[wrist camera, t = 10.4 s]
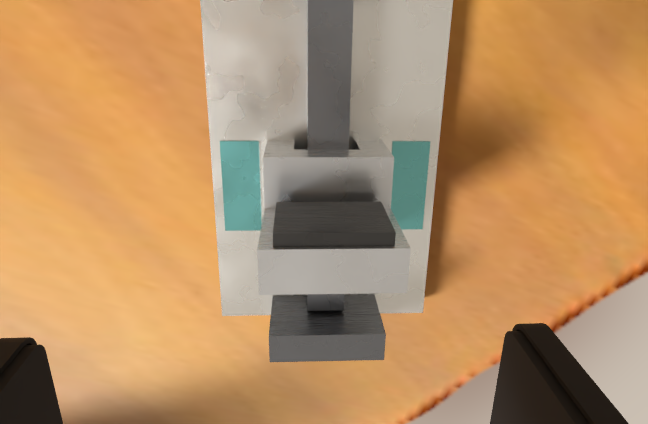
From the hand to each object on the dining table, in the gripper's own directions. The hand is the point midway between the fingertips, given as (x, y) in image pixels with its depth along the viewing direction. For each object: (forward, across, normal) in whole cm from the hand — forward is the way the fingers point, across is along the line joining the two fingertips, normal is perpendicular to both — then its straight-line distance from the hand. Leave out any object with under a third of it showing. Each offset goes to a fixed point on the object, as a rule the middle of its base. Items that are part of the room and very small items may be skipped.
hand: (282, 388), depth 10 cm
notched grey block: (+17, -2, +1) cm, 17 cm away
